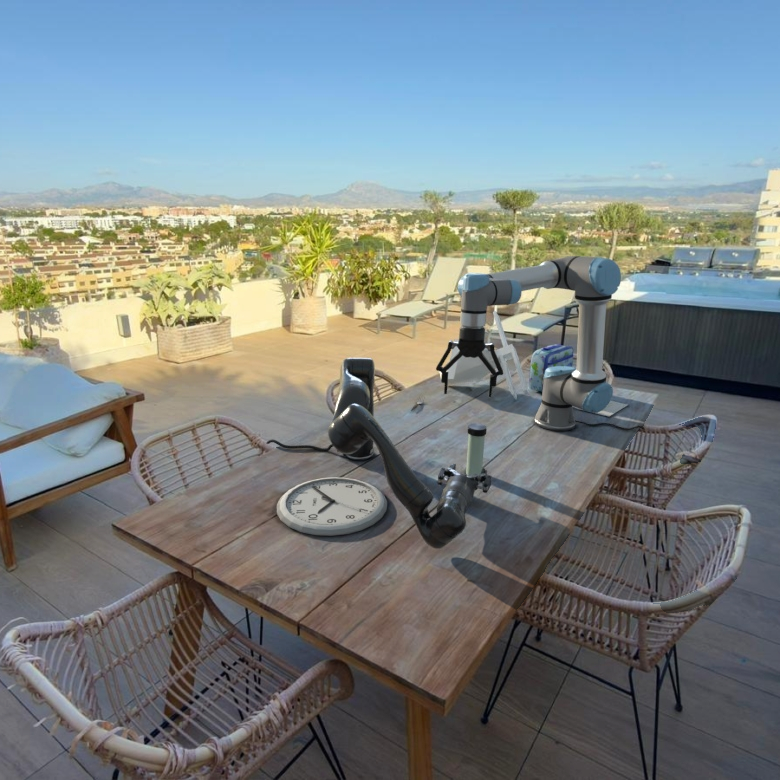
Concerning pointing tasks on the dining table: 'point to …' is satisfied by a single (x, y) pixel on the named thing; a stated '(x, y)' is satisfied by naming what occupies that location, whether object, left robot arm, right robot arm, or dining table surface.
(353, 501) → the wall clock
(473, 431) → the lid
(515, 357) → the white plastic object
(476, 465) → the jar
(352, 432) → the left robot arm
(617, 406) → the invitation card
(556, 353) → the lunch box
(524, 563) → the dining table surface
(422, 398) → the fork
